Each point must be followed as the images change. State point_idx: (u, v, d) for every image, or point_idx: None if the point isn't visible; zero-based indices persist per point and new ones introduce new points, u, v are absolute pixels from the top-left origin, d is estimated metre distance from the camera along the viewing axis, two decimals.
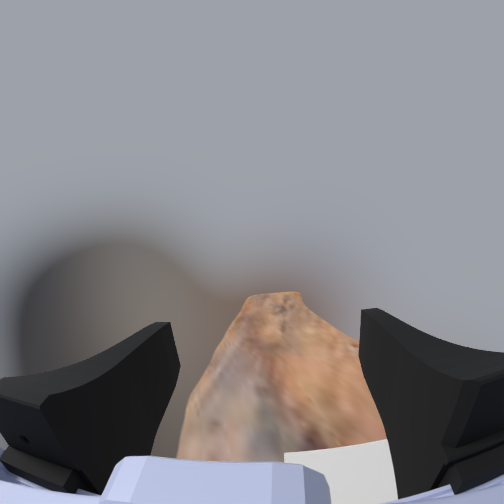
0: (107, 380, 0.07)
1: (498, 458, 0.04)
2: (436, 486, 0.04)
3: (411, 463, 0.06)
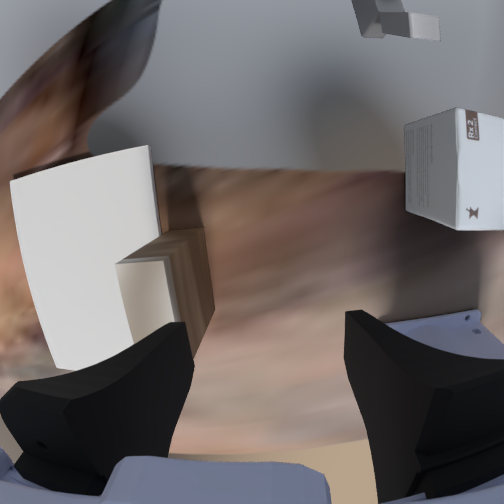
0: (127, 382, 0.07)
1: (476, 468, 0.04)
2: (412, 493, 0.05)
3: (389, 468, 0.06)
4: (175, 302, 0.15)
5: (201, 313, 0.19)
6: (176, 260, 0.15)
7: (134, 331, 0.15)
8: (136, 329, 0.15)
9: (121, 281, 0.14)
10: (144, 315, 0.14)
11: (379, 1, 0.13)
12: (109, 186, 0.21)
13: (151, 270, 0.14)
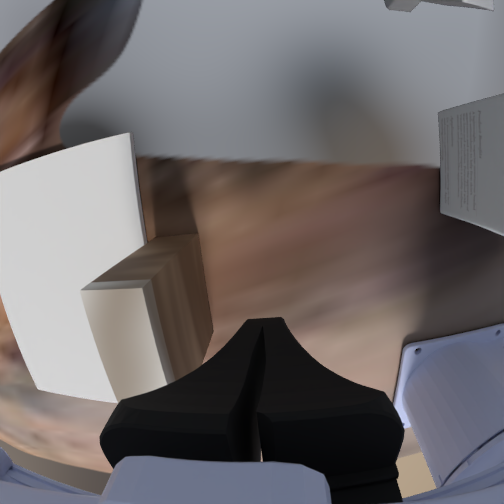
0: (246, 385, 0.07)
1: None
2: None
3: None
4: (161, 340, 0.11)
5: (197, 341, 0.15)
6: (161, 282, 0.11)
7: (111, 374, 0.11)
8: (113, 371, 0.11)
9: (89, 313, 0.10)
10: (122, 356, 0.10)
11: None
12: (83, 184, 0.16)
13: (127, 300, 0.10)
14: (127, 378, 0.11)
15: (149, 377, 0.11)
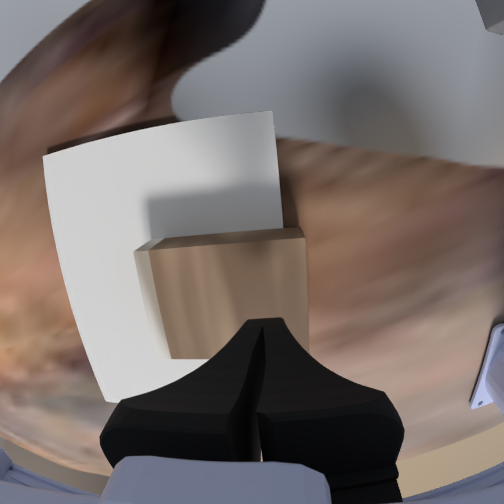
0: (246, 385, 0.07)
1: None
2: None
3: None
4: (151, 294, 0.15)
5: None
6: (166, 258, 0.15)
7: None
8: None
9: None
10: None
11: None
12: (210, 162, 0.16)
13: None
14: None
15: None
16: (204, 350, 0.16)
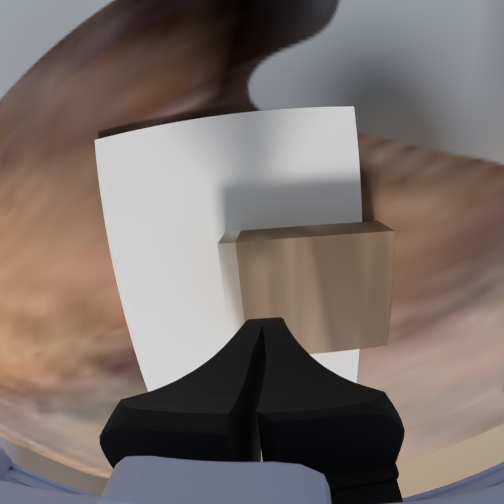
0: (246, 385, 0.07)
1: None
2: None
3: None
4: (234, 290, 0.15)
5: (322, 329, 0.15)
6: (256, 250, 0.14)
7: None
8: None
9: None
10: None
11: None
12: (293, 154, 0.15)
13: None
14: None
15: None
16: None
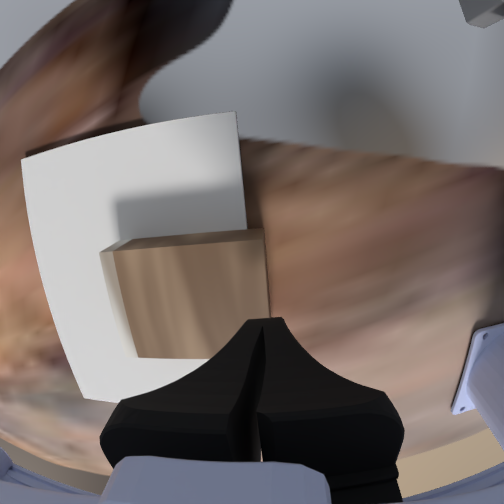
0: (246, 385, 0.07)
1: None
2: None
3: None
4: (117, 294, 0.15)
5: (199, 336, 0.15)
6: (129, 258, 0.15)
7: None
8: None
9: None
10: None
11: None
12: (174, 164, 0.16)
13: None
14: None
15: None
16: (168, 350, 0.16)
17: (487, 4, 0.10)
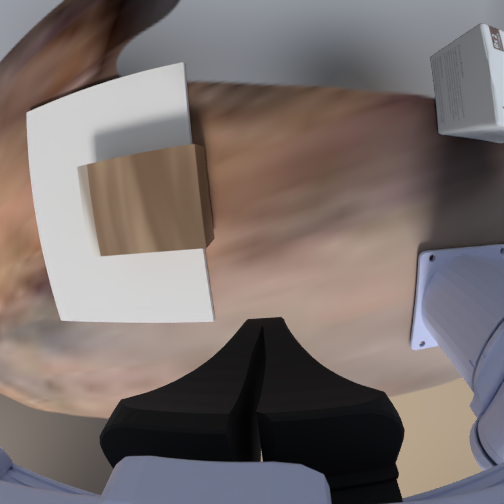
0: (246, 385, 0.07)
1: None
2: None
3: None
4: (87, 199, 0.18)
5: (147, 230, 0.19)
6: (98, 168, 0.18)
7: None
8: None
9: None
10: None
11: None
12: (138, 104, 0.19)
13: None
14: None
15: None
16: (124, 245, 0.19)
17: None
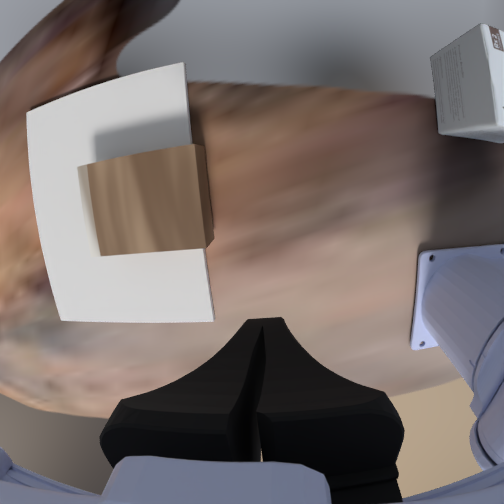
0: (246, 385, 0.07)
1: None
2: None
3: None
4: (87, 199, 0.18)
5: (147, 230, 0.19)
6: (98, 168, 0.18)
7: None
8: None
9: None
10: None
11: None
12: (138, 104, 0.19)
13: None
14: None
15: None
16: (124, 245, 0.19)
17: None
